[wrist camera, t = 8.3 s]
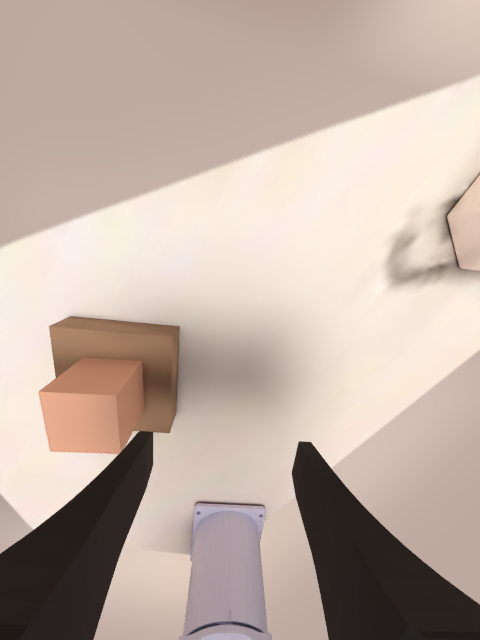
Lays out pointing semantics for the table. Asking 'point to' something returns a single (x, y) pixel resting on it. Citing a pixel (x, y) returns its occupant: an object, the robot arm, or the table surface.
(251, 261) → the table surface
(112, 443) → the cube
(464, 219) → the jar
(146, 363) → the base block
